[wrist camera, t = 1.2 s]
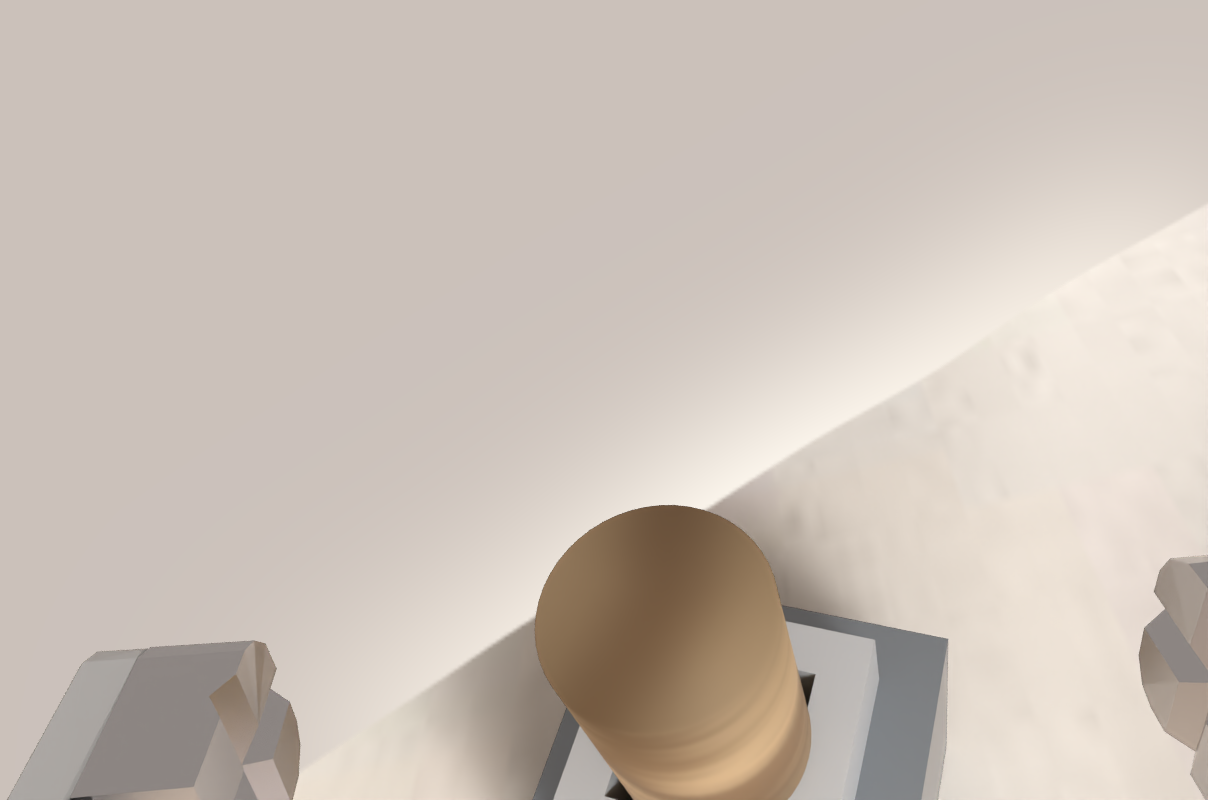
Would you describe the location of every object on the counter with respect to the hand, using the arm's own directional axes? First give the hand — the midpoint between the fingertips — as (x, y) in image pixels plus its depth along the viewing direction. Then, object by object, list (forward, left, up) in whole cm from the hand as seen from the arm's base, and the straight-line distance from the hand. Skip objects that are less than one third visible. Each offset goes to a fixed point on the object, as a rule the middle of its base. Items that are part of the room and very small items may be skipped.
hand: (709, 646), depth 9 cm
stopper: (+5, -6, -24) cm, 26 cm away
